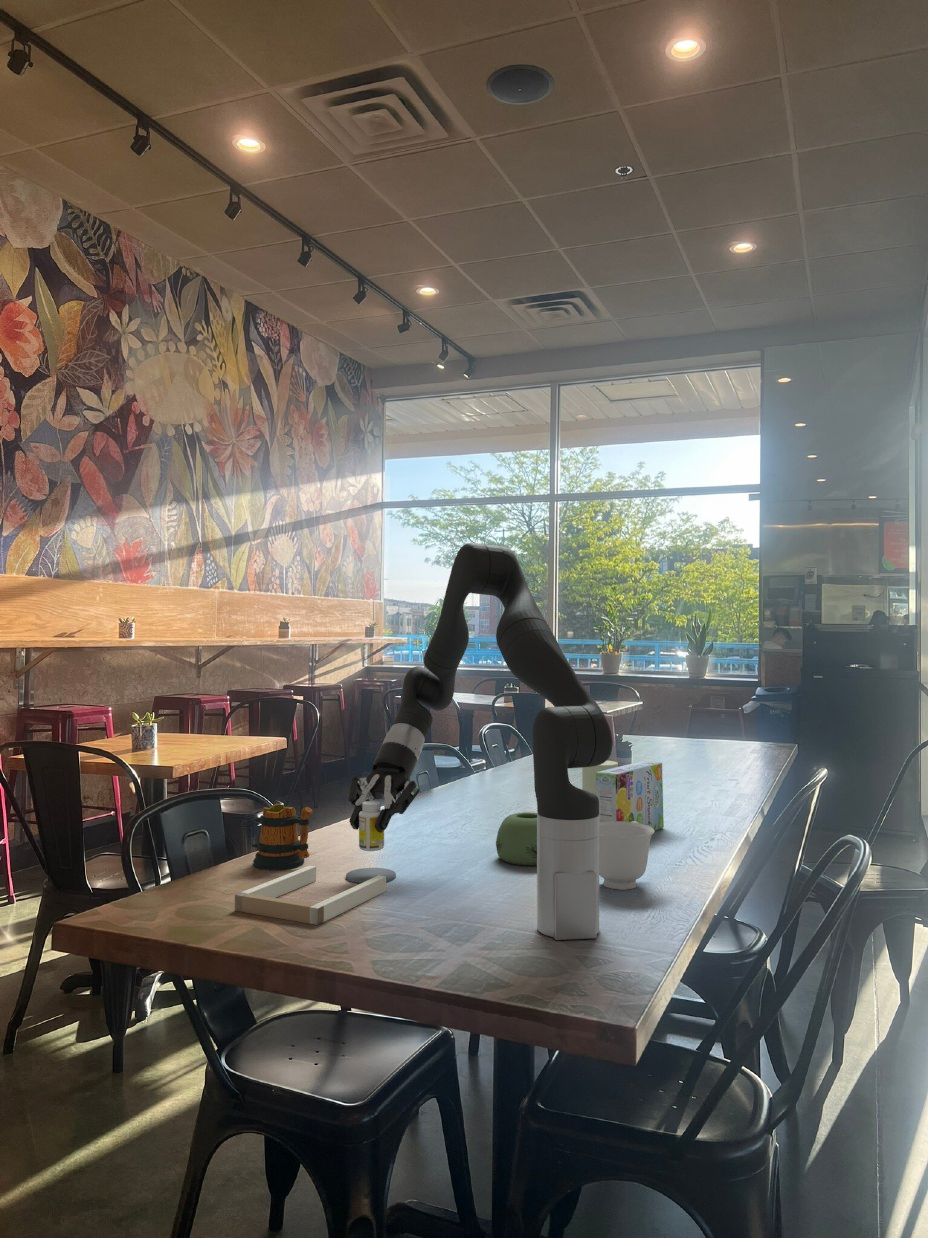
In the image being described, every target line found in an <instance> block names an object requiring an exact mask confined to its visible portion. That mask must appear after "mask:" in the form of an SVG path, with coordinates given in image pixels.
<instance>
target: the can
mask: <svg viewBox="0 0 928 1238" xmlns="http://www.w3.org/2000/svg"><path fill="white" fill-rule="evenodd" d="M616 767H619V763H618V761H613V760H607V761H606V762H604V763H603V764H601V765H597V766H592V767H582V768H581V770H582V773H581V776H582V780H581V781H582V784H581V785H582V787H581V789H582V790H585V791H589V792H591V793H594V794H595V795H596V772H599V771H604V770H608V769H612V768H616Z"/></svg>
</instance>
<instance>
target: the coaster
mask: <svg viewBox="0 0 928 1238" xmlns="http://www.w3.org/2000/svg"><path fill="white" fill-rule="evenodd" d="M378 875H380V876H386V883H389V882H391V881H394V880H395V879H396V878H397V873H396V872H395V871H394V870H392V869H388V868H383V867H363V868H356V869H352V870H350V871H348V872H347V873H346V874H345V879H346V881H348V882H351V883H354V884H361V883H363V882H365V881H367V880H370V879H372V878H374V877H376V876H378Z"/></svg>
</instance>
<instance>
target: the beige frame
mask: <svg viewBox="0 0 928 1238" xmlns="http://www.w3.org/2000/svg"><path fill="white" fill-rule="evenodd" d="M316 881H317V866H315V865H307V866H305V867H302V868H300V869H297V870H295V871H292V872H288V873H287V874H284V875H282V876H279V877H276V878H274V879H272V880H269V881H266V882H264V883H261V884H259V885H256V886H254V887H251V888H249V889H245V890H243V891H240V892H238V893H236V894H234V911H235V912H241V913H247V914H252V915H257V916H262V917H263V916H264V917H269V918H274V919H275V918H276V919H280V920H281V919H282V920H287V921H292V922H297V923H298V922H299V923H302V924H303V923H304V924H308V925H309V924H310V925H316V926H319V925H321V924H323V923H325V922H327V921H330V920H331V919H333V918H335V917H336V916H339V915H341V914H343V913H345V912H347V911H349V910H351V909H352V908H355V907H357V906H359V905H361V904H363V903H365V902H367V901H369V900H371V899H373V898H375V897H377V896H379V895H381V894H383V893H385V892H387V882H386V876H380V875H378V876H376V877H374V878H372V879H370V880H367V881H365V882H363V883H361V884H360V883H358V884H357V885H355V886H353V887H350V888H348V889H346V890H344V891H342V892H340V893H337V894H335V895H333V896H330V897H329V898H326V899H325V900H322V901H319V902H318V903H316V904H315V903H310V902H302V901H296V900H291V899H286V898H285V899H284V898H279V897H280V896H281V897H282V896H283V895H285V894H288V893H290V892H292V891H295V890H298V889H300V888H302V887H305V886H306V885H310V884H311V883H314V882H316Z"/></svg>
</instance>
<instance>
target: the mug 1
mask: <svg viewBox="0 0 928 1238" xmlns="http://www.w3.org/2000/svg"><path fill="white" fill-rule="evenodd" d="M311 815H313V809H312V808H311V807H309V806H305V807H303V808H302V810H301V813H300V816H299V815H297V814H296V808H295V807H293V806H285V804H281V803H276V804H273V805H272V807H268V806H267V807H265V806H264V807H263V810H262V814H261V815H260V816H259V817H257V818H254V819H253V820H254V822H258V824H261V825H260V833H259V834H260V835H259V840H258V842H257V843H253V844H251V847H253V848H256V850H257V852H256V853H255V856H254V857H255V858H254V859H253V861H252V864H253V867H254V868H255V869H258V870H263V871H285V870H291V869H292V870H293V869H296V868H299V867H301V866H303V865H304V863H305V859H307V858H310V852H309V851H308V849H309V843H308V838H309V825H310V819H309V818H310V817H311ZM298 824H299V825H300V833H298Z"/></svg>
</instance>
